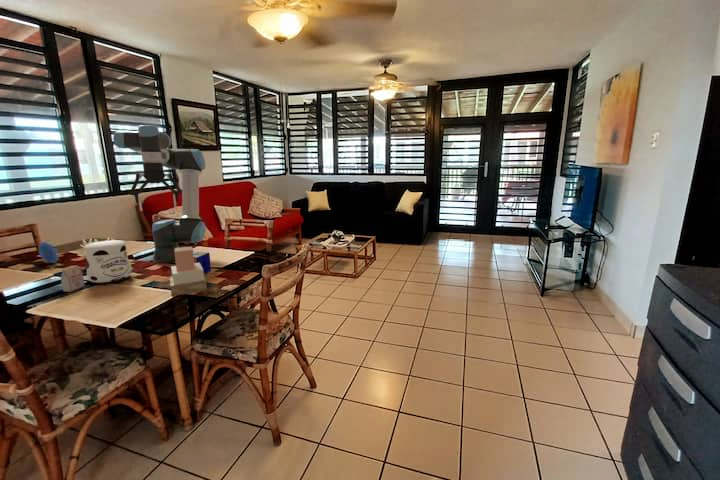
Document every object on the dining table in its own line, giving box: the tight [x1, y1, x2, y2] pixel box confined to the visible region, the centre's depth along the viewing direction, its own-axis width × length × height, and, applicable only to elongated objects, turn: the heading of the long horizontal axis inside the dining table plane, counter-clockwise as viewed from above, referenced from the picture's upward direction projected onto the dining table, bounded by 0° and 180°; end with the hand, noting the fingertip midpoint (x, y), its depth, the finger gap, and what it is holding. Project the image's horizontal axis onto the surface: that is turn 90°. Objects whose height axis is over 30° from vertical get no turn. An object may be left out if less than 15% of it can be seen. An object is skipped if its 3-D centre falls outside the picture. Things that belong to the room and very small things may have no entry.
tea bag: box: [60, 265, 86, 293], centre depth 150 cm, size 4×7×10 cm, turn 173°
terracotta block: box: [174, 246, 194, 271], centre depth 150 cm, size 7×7×9 cm
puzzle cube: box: [193, 250, 212, 275], centre depth 172 cm, size 10×10×10 cm
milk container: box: [84, 239, 132, 285], centre depth 160 cm, size 17×17×18 cm
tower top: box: [170, 263, 205, 285], centre depth 152 cm, size 12×12×5 cm
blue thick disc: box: [38, 241, 59, 264], centre depth 184 cm, size 12×7×12 cm, turn 79°
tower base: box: [169, 275, 208, 297], centre depth 153 cm, size 14×14×5 cm
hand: (158, 209), depth 153 cm, fingers open, 13 cm apart
